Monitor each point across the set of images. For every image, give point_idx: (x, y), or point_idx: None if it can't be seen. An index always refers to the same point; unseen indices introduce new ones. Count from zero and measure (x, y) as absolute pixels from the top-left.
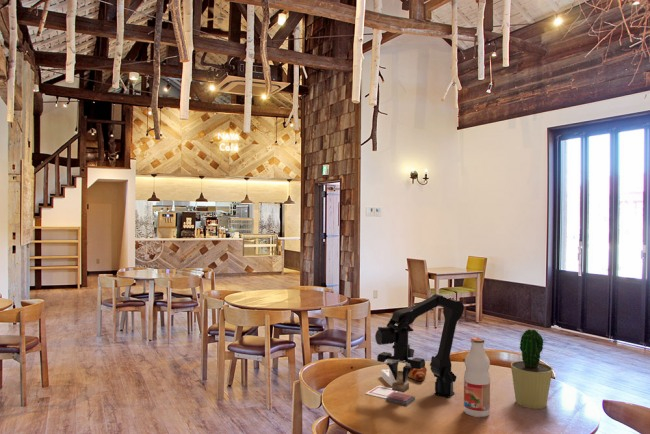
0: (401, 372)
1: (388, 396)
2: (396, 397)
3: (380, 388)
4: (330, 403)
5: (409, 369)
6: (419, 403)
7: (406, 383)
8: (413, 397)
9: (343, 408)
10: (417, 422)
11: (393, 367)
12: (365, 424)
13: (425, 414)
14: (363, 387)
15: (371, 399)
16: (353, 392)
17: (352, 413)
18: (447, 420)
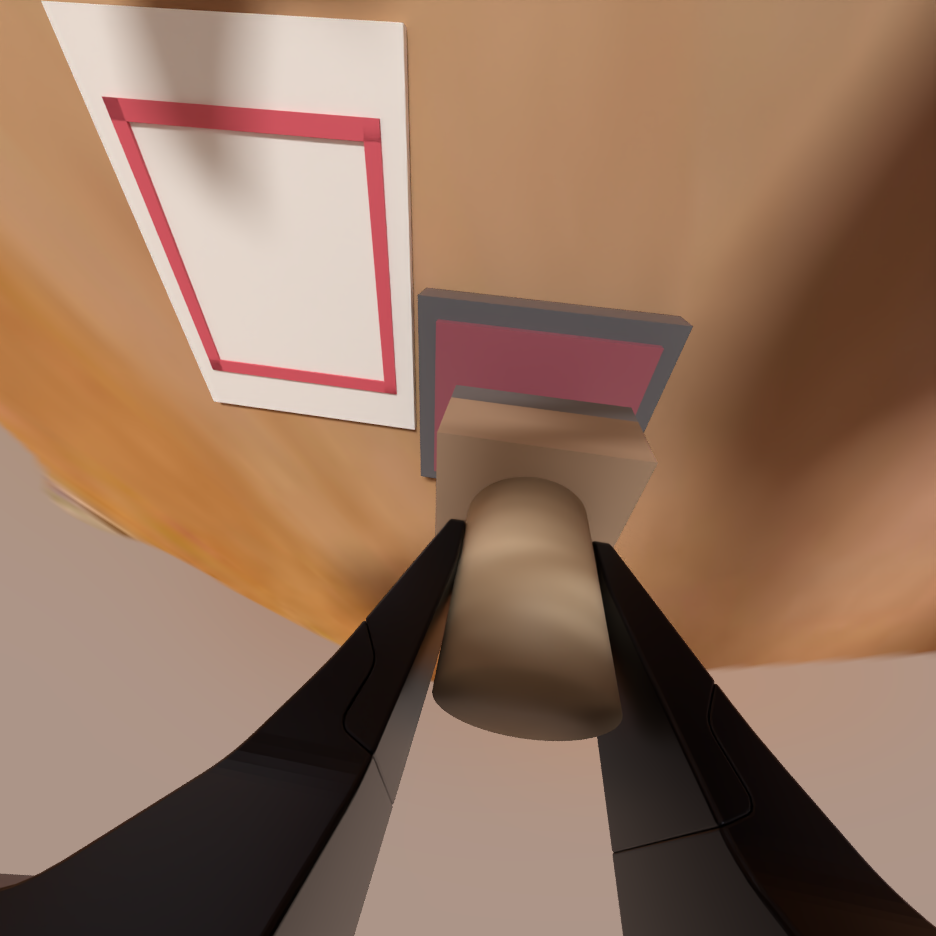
0: (545, 718)
1: (421, 442)
2: None
3: (177, 163)
4: (226, 576)
5: (818, 880)
6: (727, 397)
7: (617, 513)
8: (670, 361)
9: (310, 600)
10: (690, 638)
11: (373, 865)
12: None
13: (756, 563)
14: (41, 226)
15: (328, 472)
16: (137, 405)
17: None
18: (919, 596)
